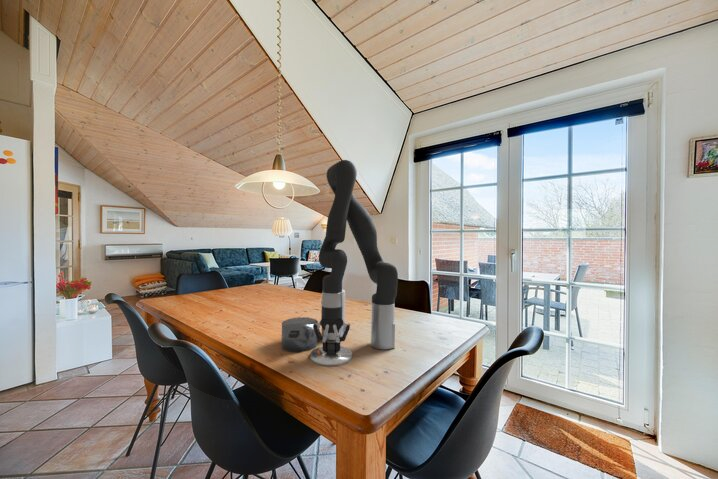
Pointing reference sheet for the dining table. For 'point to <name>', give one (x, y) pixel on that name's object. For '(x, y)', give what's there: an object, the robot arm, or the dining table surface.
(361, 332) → the dining table surface
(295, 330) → the dark grey rounded piece
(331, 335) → the container
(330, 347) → the lid
